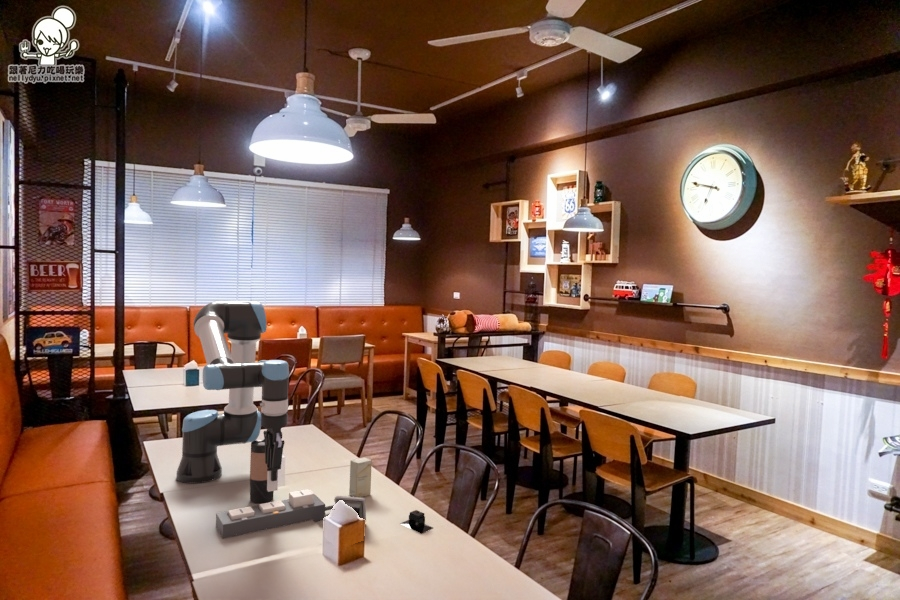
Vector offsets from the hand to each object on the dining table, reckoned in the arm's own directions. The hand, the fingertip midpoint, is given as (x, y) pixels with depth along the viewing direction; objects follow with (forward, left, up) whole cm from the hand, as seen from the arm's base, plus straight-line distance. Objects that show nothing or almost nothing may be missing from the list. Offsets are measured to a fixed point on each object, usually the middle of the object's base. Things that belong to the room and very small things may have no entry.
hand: (272, 489), depth 174 cm
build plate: (+22, +38, -11) cm, 45 cm away
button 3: (0, +9, -8) cm, 12 cm away
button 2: (0, 0, -9) cm, 9 cm away
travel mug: (-18, +2, -11) cm, 21 cm away
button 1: (0, -9, -10) cm, 13 cm away
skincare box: (-9, +33, -11) cm, 36 cm away
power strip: (0, +3, -11) cm, 11 cm away
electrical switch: (+12, +20, -11) cm, 26 cm away
